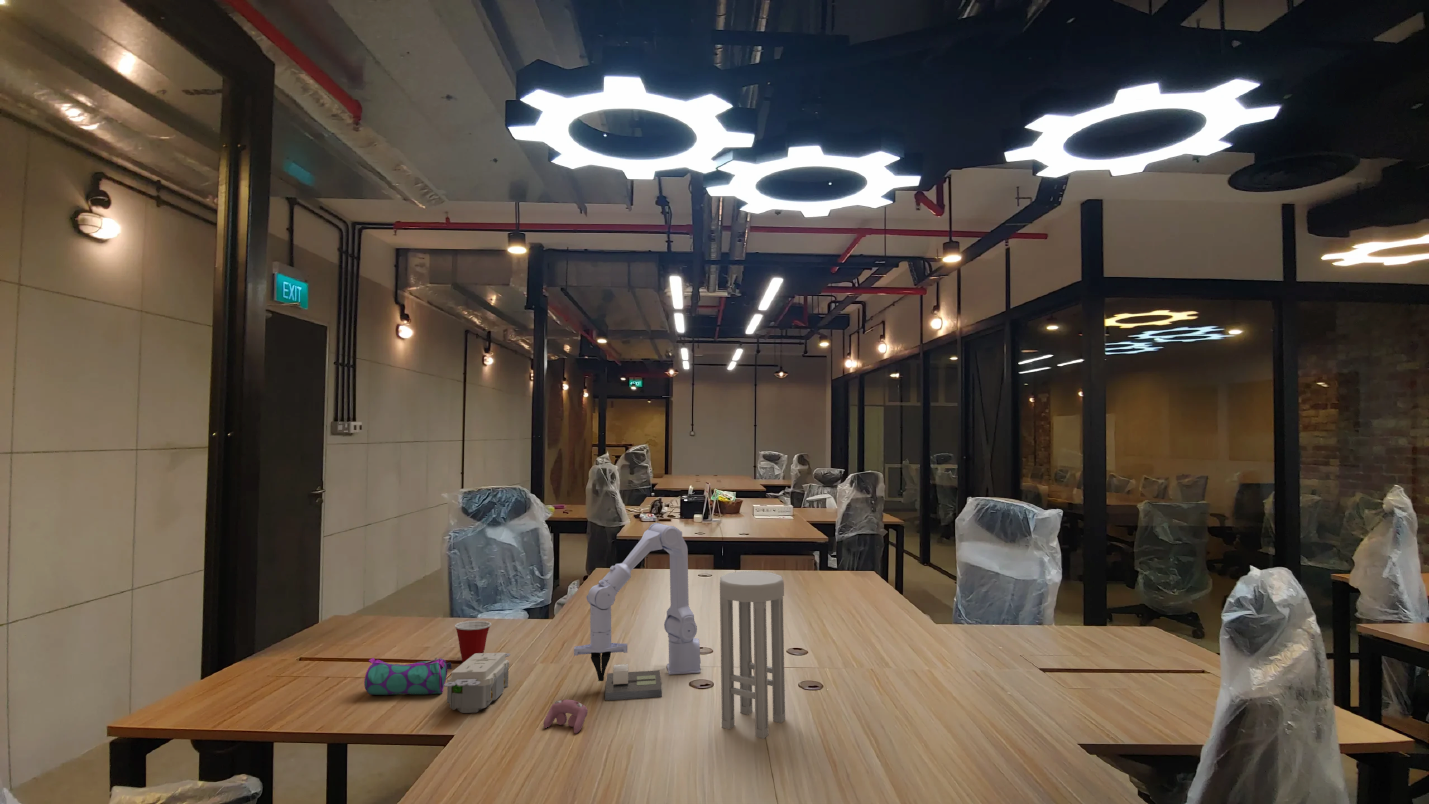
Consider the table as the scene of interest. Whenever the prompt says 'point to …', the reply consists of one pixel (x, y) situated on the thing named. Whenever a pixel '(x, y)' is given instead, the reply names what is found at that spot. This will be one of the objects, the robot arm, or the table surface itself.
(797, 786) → the table surface
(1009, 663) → the table surface
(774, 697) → the stool
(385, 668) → the pencil case
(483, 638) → the plastic cup
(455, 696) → the electrical outlet
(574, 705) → the video game controller
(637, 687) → the breaker panel
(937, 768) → the table surface
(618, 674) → the lever
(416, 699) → the table surface
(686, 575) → the robot arm
